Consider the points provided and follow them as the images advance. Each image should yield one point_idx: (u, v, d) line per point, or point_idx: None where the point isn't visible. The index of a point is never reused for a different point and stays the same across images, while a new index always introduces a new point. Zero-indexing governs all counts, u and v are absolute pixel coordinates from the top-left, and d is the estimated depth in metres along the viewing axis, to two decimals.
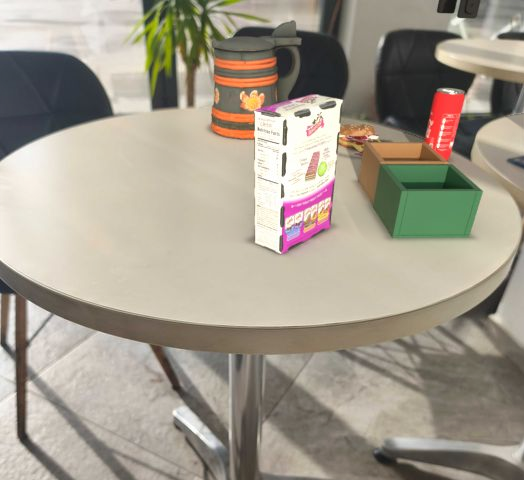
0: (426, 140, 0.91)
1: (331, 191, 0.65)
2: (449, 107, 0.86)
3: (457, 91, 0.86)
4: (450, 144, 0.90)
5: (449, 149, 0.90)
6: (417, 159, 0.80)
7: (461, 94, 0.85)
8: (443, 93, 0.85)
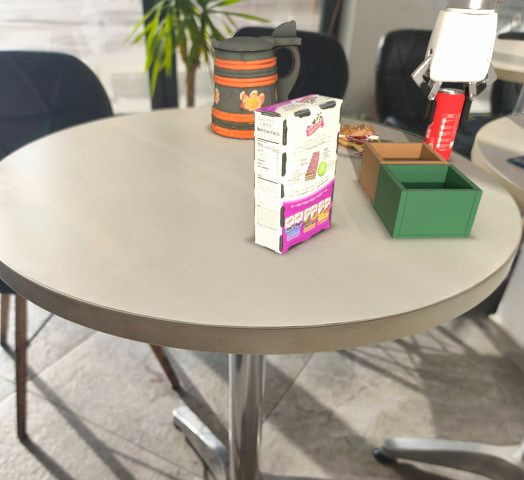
0: (426, 140, 0.91)
1: (331, 191, 0.65)
2: (449, 107, 0.86)
3: (457, 91, 0.86)
4: (450, 144, 0.90)
5: (449, 149, 0.90)
6: (417, 159, 0.80)
7: (461, 94, 0.85)
8: (443, 93, 0.85)
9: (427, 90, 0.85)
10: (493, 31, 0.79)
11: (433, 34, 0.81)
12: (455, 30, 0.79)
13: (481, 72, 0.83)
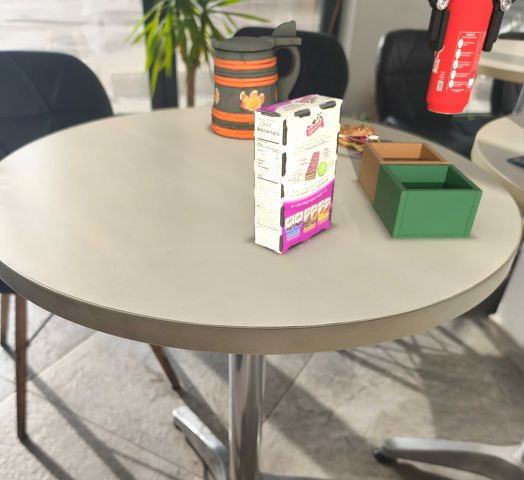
0: (433, 77, 0.61)
1: (331, 191, 0.65)
2: (469, 20, 0.56)
3: None
4: (469, 82, 0.60)
5: (467, 90, 0.60)
6: (417, 159, 0.80)
7: None
8: None
9: None
10: None
11: None
12: None
13: None
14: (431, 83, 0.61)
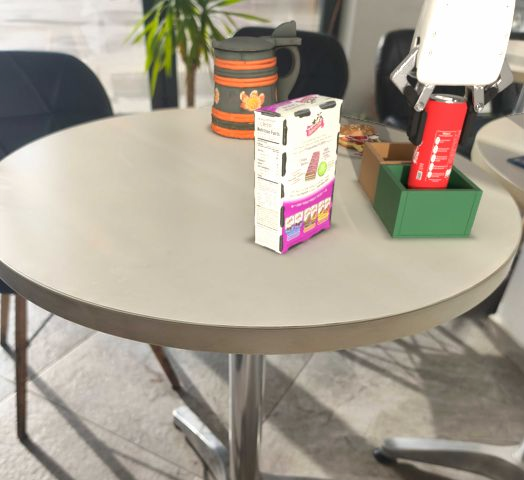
0: (413, 166, 0.65)
1: (331, 191, 0.65)
2: (445, 122, 0.60)
3: (456, 98, 0.61)
4: (446, 172, 0.64)
5: (445, 179, 0.65)
6: None
7: (462, 103, 0.59)
8: (436, 101, 0.59)
9: (413, 97, 0.59)
10: (510, 10, 0.53)
11: (421, 16, 0.55)
12: (453, 9, 0.53)
13: (492, 71, 0.57)
14: (411, 171, 0.66)
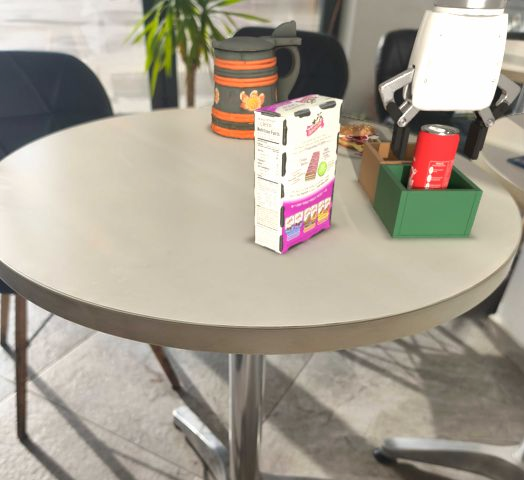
0: None
1: (331, 191, 0.65)
2: (438, 153, 0.62)
3: (449, 130, 0.63)
4: None
5: None
6: None
7: (454, 135, 0.61)
8: (429, 133, 0.62)
9: (399, 111, 0.60)
10: (502, 39, 0.55)
11: (416, 45, 0.57)
12: (446, 40, 0.55)
13: (485, 97, 0.59)
14: None
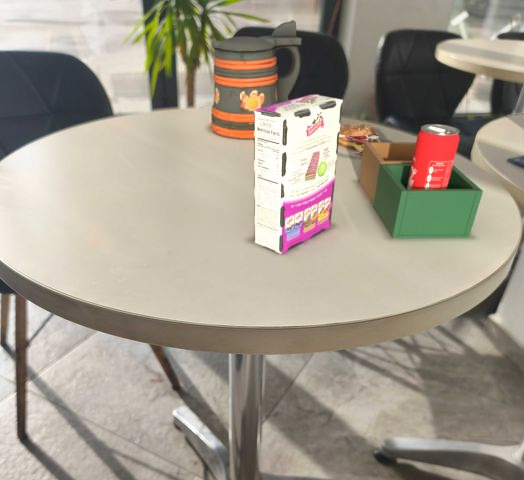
0: None
1: (331, 191, 0.65)
2: (438, 153, 0.62)
3: (449, 130, 0.63)
4: None
5: None
6: None
7: (454, 135, 0.61)
8: (429, 133, 0.62)
9: None
10: None
11: None
12: None
13: None
14: None
